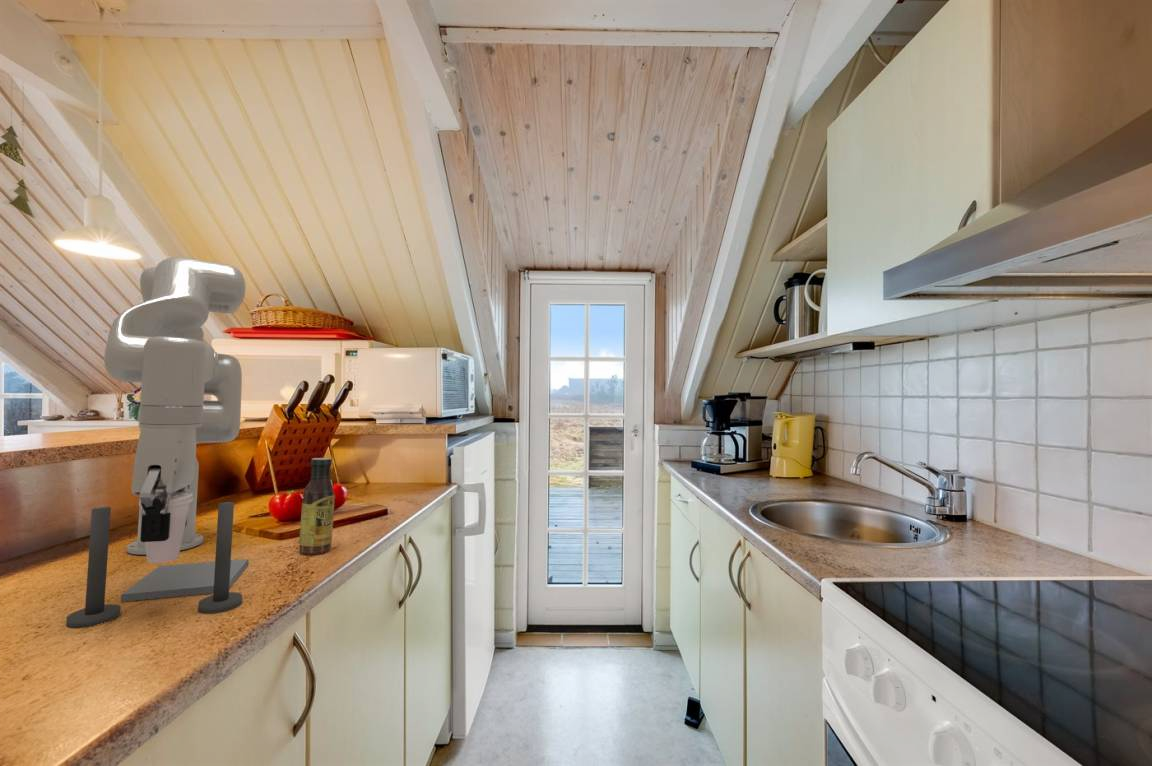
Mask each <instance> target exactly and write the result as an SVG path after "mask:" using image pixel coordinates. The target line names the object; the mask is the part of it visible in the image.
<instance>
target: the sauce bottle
mask: <svg viewBox="0 0 1152 766" xmlns="http://www.w3.org/2000/svg"><path fill="white" fill-rule="evenodd" d="M332 463H333V459H332V458H331V457H313V458H311V459H310V466H311V473H310V477H309V478H310V480H309V482H308V483H307V485H306V486H305V488H304V489H303V493H302V495H303V496H302V503H301V514H300V515H301V516H300V527H299V539H298V545H299V553H300V554H302V555H317V554H322V553H323V554H324V553H326V552H328V551H329V550H330V549H331V546H332V542H333V530H334V529H333V528H334V527H333V526H334V519H335V518H334V517H335V516H334V515H335V501H336V495H335V494H336V493H335V491H334V488H333V484H332V481H331V466H332V465H333V464H332Z"/></svg>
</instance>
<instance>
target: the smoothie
mask: <svg viewBox="0 0 1152 766" xmlns="http://www.w3.org/2000/svg"><path fill="white" fill-rule="evenodd" d="M164 490H165V489H163V492H166V491H164ZM192 495H193V494H192V493H189V492H174V493H172V494H171V498H170V502H169V507H168V512H167V513H171V514H170V530H169V538H168V539H167V540H166V541H155V542H145V546H146V562H147V563H149V564H162V563H168V562H172V561H175V560H177V559H178V558H179V556H180V552H181V551H180V547H181V543H182V538H183V533H184V528H185V523H186V519H187V514H188V509H189V504H190V502H191V501H192V500H193V499H192ZM159 500H160V502H161V504H162V500H163V497H159ZM141 503H142V502H141V500H140V498H139V499H138V506H141V507H142V505H141Z"/></svg>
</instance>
